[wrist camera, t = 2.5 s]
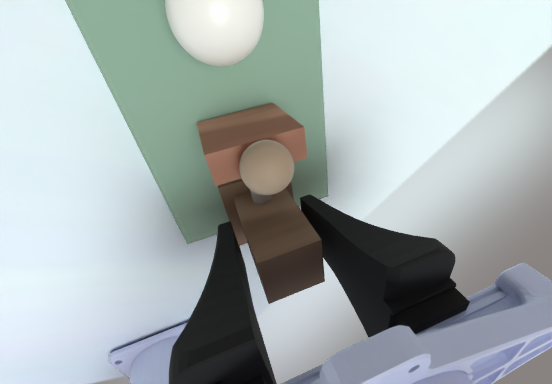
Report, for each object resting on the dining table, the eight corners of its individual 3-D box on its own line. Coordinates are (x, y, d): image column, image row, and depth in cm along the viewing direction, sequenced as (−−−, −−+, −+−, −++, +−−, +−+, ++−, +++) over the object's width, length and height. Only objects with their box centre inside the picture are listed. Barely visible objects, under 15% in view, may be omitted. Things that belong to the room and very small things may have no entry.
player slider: (290, 214, 18) (336, 286, 13) (234, 233, 17) (259, 318, 12) (272, 96, 13) (330, 139, 8) (194, 116, 13) (208, 175, 8)
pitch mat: (324, 192, 19) (328, 196, 19) (186, 239, 17) (187, 244, 17) (296, -306, 8) (302, -323, 8) (-90, -319, 6) (-107, -343, 6)
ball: (258, 52, 12) (283, 60, 10) (184, 69, 12) (187, 82, 9) (241, -46, 10) (266, -72, 8) (150, -33, 10) (142, -56, 7)
